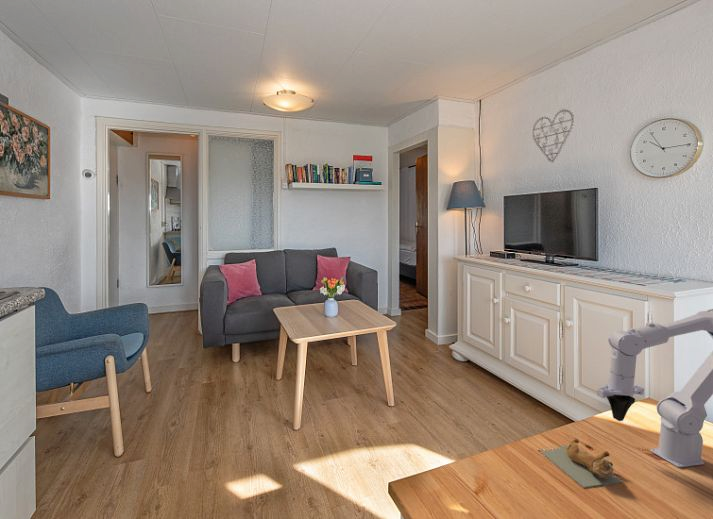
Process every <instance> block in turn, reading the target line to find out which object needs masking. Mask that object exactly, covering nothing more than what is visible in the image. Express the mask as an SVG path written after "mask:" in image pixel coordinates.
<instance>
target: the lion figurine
mask: <svg viewBox="0 0 713 519" xmlns="http://www.w3.org/2000/svg"><path fill="white" fill-rule="evenodd" d="M579 443H580V441H579V439H577V438H574V439H572V441H570V444H568V445H567V446H568V447H567V449H566V453H567V455H568V457H569V458H570V459H571V460H572V461H574V462H577V463H579V464H582V465H584V466H585V467H587V468H588V469H589V470H590V471H591V472H592V473H593V474H594V475H596V476H597V477H599V478H605V479H607V478H609V477H610V476H611V474H614V468H613V467H614V464H613V462H611V461H609V459H605V458H607V457H610V452H608V450H606V451H603V452H602V453H601V454H598V455H596V456H593V455H591V454H589V453H588V452H586V451H581V452H579V450H580V449H579V445H578V444H579Z"/></svg>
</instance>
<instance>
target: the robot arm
mask: <svg viewBox="0 0 713 519" xmlns="http://www.w3.org/2000/svg"><path fill="white" fill-rule="evenodd" d="M700 331H705V332H707V333H708V335H709V336H710V337H711V338H712V339H713V308H710V309H707V310H701V311H700V310H699V311H698V312H697V313H695V314H692V315H690V316H687V317H684V318H681V319H679V320H675V321H672V322H669V323H667V324H663V325H662V324H660V323H657V322H654V323H653V322H650V321H649V322H646V323H645V325H643V326H640V327H637V328H632V327H631V328H628V330H627V331H625V330H616V331H614V332H613V334H611V335H610V337H608V343H609V345H610V347H611V357H610V358H611V360H610V369H609V371H610V372H609V380H608V382H606V384H605V385H604V386H603V387H599V388H596V395H597V396H598V397H600V398H602V399H605V398H606V399H607V400H608V403H609V405H610V409H611V413H612V418H613V419H614V420H616V421H617V422H623V421H624V419H625V417H626V415H627V413H628V411H629V409H630V408H631V406H633V404H634V403H635V402H636V398H635V397H633V396H635V395H640V396H644V393H645V388H644V387H642V386H639V385H635V374H636V368H637V366H636V364H637V357H638V356H637V355H640V354H641V353H642V351H643V350H645V349H648V348H651V347H655V346H659V345H663V344H667V343H668V342H669V339H670V338H672V337H677V336H681V335H685V334H690V333H696V332H700ZM712 396H713V350H712V351H711V352H710V353H709V355H708V356H707V357H706V358H705V360H704V361H703V362H702V364H701V365H700V366H699V367H698V368H697V369H696V371H695V372H694V374H692V376H691V377H690V378H689V380H688V381H687V382H686V383H685V385H684V386H683V387H682V388H681V389H680V390H679V391H674V392H673V391H672V392H670V393H669V394H668V395H667V397H664V398H662V399H660V401H658V402H657V404H656V412H657V414H658V415H659V416H660V422H661V423H660V429H659V430H660V431H659V439H658V447H656V448H650V449H649V451H650V452H651V453H653V454H655V455H657V456H658V457H660V458H661V459H663V460H665V461H667V463H670V464H671V465H674V466H675V467H677V468H684V467H692V466H694V467H695V466H700V465H701V466H702V465H704V464H705V461H703V460H702V456H703V455H702V453H703V443H704V440H703V436H702V434H701V433H700V432H701V430H702V429H703V428H704V421H705V420H706V418H707V417H708V412H707V410H706V407H705V405H706V403H707V402H708V401H709V400H710V398H711V397H712Z"/></svg>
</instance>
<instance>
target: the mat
mask: <svg viewBox="0 0 713 519" xmlns="http://www.w3.org/2000/svg"><path fill="white" fill-rule="evenodd" d="M568 446H569V445H562V446H557V447H558V448H557V449H555V447H556V446H554V449H553V451H552V449H551V450H548V451H547V449H546V450H545V451H543V448H541V449H542V450H541V451H540V452H539V453H541V452H542V453H541V455H543V454H544V455H545V456H546V459H548V460H549V461H550V462H551V461H552V463H553V464H554V465H555V466H557V467H558V469H559V470H561V471H562V472H564V474H566V475H567V476H568V477H569V478H571V479H572V480H573V481H574V482H576V484H578V485H579V486H580V487H581V488H583V489H586V488H594V486H595V487H601V485H602V486H607V485H608V486H609V485H613V484H614V485H615V484H621V483H624V481H623V480H622V479H621V478H619V477H618V476H616V475H615V474H614V473H612V474H611V476H610V477H609V478H607V479H605V478H599V477H597V476H596V475H594V474H593V473H592V472H591V471H590V470H589V469H588V468H587V467H585V466H584V465H582V464H579V463H577V462H574V461H572V460H571V459H570V458H569V457H568V455H567V453H566V449H567V447H568ZM559 447H560V449H559ZM579 452H582V450H580V449H579ZM544 455H543V456H544ZM545 456H544V457H545Z"/></svg>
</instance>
